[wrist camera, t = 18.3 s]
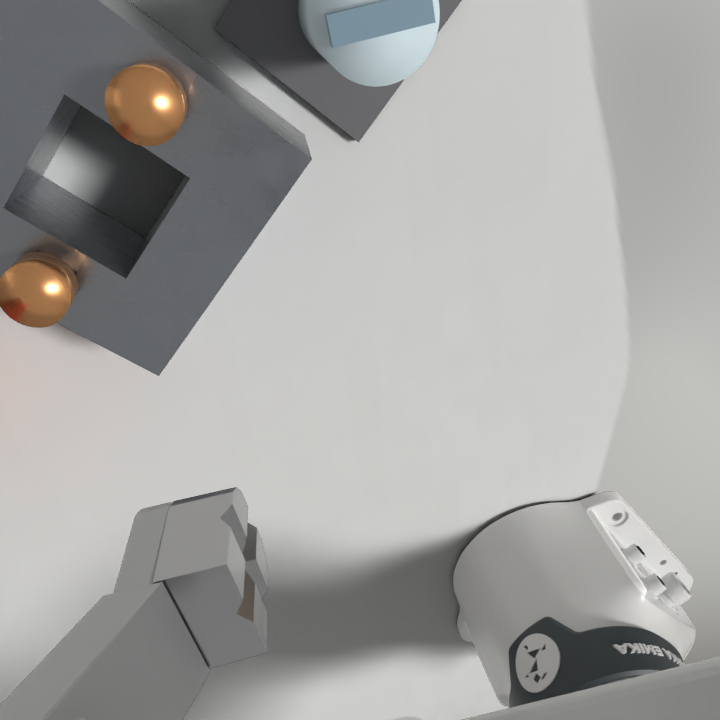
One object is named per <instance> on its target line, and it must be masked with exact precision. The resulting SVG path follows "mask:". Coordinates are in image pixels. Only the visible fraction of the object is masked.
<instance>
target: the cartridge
mask: <svg viewBox="0 0 720 720" xmlns="http://www.w3.org/2000/svg"><path fill="white" fill-rule="evenodd" d="M298 17H299V23H300V26H301V29H302V31H303V34H304V36H305V37H306V39H307V41H308V42H309V43H310V45H311V46H312V47H313V48H314V49H315V50H316V51H317V52H318V53H319V54H320V55H321V56H322V57H323V58H324V59H326V60H327V61H328V62H329V63H330V64H331V65H332V66H333V67H334V68H335V69H336V70H337V71H338V72H339V73H340V74H342V75H343V76H344V77H346V78H347V79H349V80H351V81H353V82H355V83H358V84H361V85H365V86H373V87H379V86H387V85H391V84H394V83H397V82H399V81H401V80H403V79H405V78H407V77H408V76H410V75H411V74H412V73H413V72H415V71H416V70H417V69H418V68H419V67H420V66H421V65H422V63H423V62H424V61H425V59H426V58H427V57H428V55H429V53H430V51H431V49H432V47H433V45H434V42H435V40H436V36H437V33H438V28H439V20H440V8H439V0H298Z"/></svg>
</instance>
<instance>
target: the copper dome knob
mask: <svg viewBox="0 0 720 720" xmlns="http://www.w3.org/2000/svg"><path fill="white" fill-rule="evenodd" d="M104 103H105V110H106V114H107V116H108V119H109V121H110V123H111V124H112V126H113V127H114V129H115V130H116V131H117V132H118V133H119V134H120V135H121V136H122V137H124V138H125V139H126V140H128V141H130V142H132V143H134V144H137V145H141V146H157V145H161V144H163V143H165V142H167V141H169V140H170V139H171V138H172V137H173V136H174V135H175V134H176V133H177V131H178V130H179V128H180V126H181V125H182V123H183V121H184V119H185V117H186V113H187V98H186V94H185V91H184V88H183V86H182V84H181V83H180V81H179V80H178V79H177V77H176V76H175V75H174V74H173V73H172V72H170V71H169V70H168V69H166V68H165V67H163V66H161V65H158V64H155V63H149V62H142V63H136V64H133V65H131V66H129V67H127V68H125V69H124V70H122V71H120V72H118V73H117V74H116V75H115V76H114V77H113V78H112V79H111V81H110V82H109V84H108V86H107V89H106V92H105V102H104Z"/></svg>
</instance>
